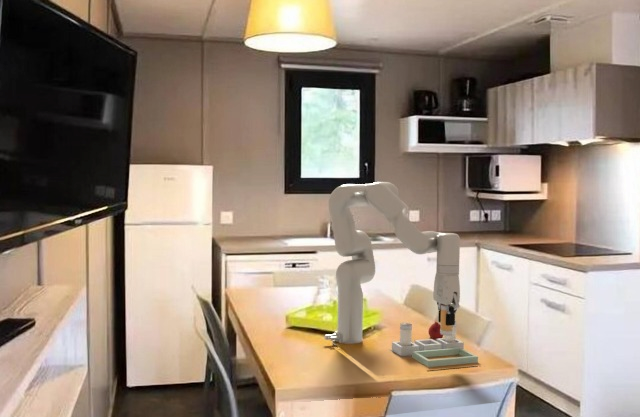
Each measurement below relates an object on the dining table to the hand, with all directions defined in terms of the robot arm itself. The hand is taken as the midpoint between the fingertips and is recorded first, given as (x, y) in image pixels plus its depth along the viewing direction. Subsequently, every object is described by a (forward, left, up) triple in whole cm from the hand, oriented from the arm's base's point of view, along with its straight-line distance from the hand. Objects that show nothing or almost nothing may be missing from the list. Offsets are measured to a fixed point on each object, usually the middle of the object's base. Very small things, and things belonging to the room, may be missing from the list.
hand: (446, 323), depth 207 cm
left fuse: (-9, +12, -13) cm, 19 cm away
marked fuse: (0, 0, -4) cm, 4 cm away
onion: (+12, +27, -14) cm, 33 cm away
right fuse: (+9, +12, -13) cm, 19 cm away
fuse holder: (0, +12, -14) cm, 18 cm away
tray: (0, 0, -14) cm, 14 cm away
